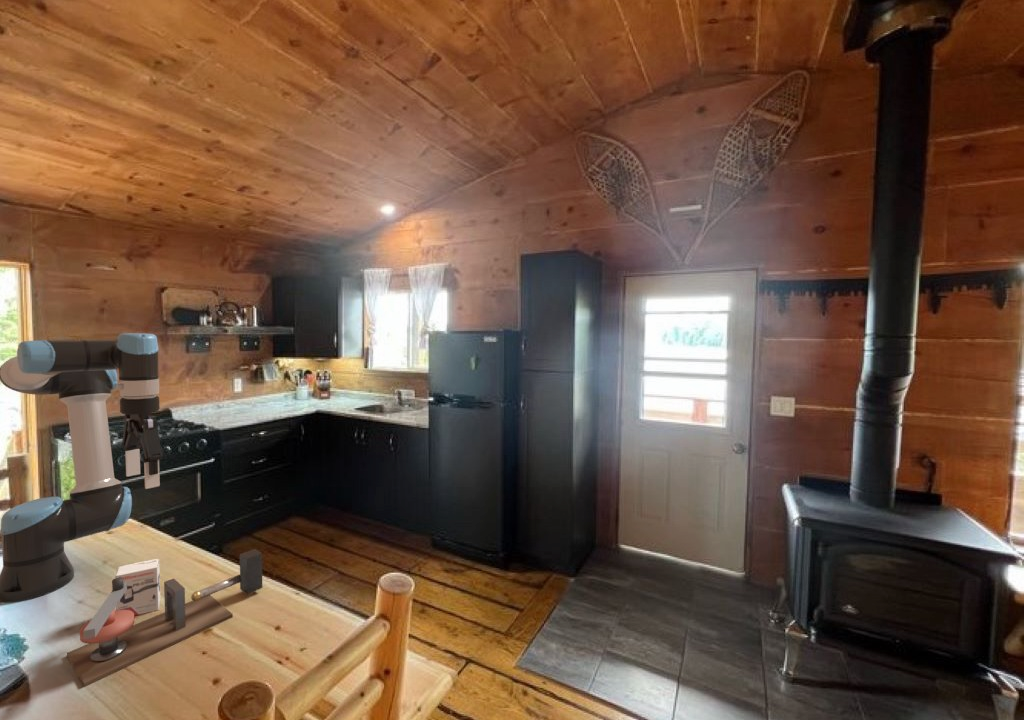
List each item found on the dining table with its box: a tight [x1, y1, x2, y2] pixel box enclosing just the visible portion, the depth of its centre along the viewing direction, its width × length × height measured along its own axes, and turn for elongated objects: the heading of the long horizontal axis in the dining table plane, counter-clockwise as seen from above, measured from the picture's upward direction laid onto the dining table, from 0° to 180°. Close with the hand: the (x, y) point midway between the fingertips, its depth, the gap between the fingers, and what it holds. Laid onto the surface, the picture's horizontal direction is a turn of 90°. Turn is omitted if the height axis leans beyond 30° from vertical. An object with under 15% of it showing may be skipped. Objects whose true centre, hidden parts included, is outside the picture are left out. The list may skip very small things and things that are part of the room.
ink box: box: [114, 558, 161, 617], centre depth 116 cm, size 8×5×12 cm, turn 123°
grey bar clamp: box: [190, 548, 263, 601], centre depth 120 cm, size 4×16×10 cm, turn 145°
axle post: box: [90, 637, 127, 663], centre depth 101 cm, size 6×6×5 cm
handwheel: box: [79, 577, 135, 645], centre depth 100 cm, size 9×18×8 cm, turn 24°
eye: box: [163, 578, 186, 631], centre depth 111 cm, size 7×2×10 cm, turn 55°
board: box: [66, 594, 234, 687], centre depth 108 cm, size 14×28×1 cm, turn 145°
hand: (142, 481), depth 113 cm, fingers open, 13 cm apart
